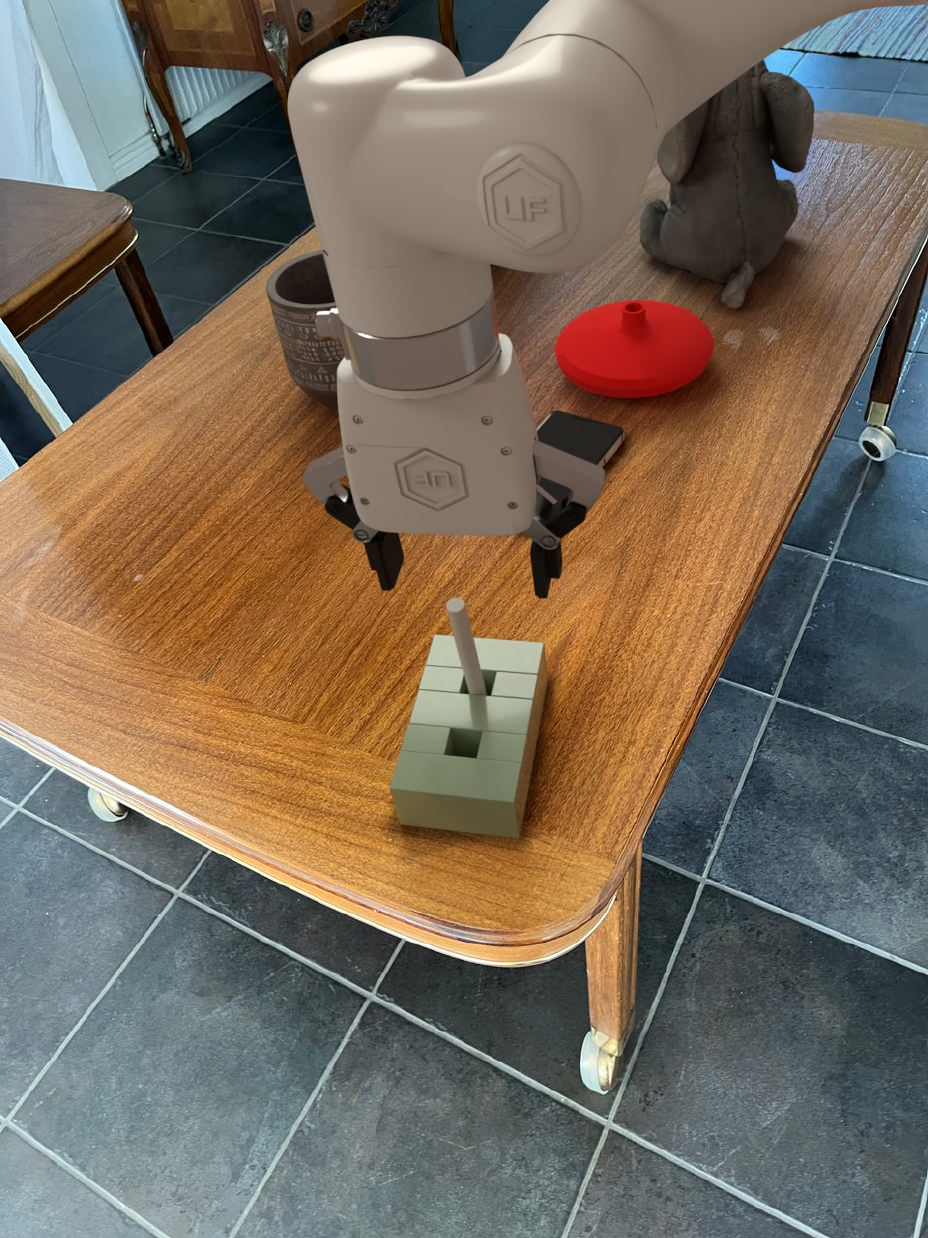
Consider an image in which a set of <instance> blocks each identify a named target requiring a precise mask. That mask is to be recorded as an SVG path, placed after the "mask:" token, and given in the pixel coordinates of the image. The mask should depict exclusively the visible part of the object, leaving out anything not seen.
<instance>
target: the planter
mask: <svg viewBox="0 0 928 1238" xmlns="http://www.w3.org/2000/svg"><path fill="white" fill-rule="evenodd" d="M265 292H266V295H267V299H268V302H269V305H270V310H271V313H272V317H273V321H274V325H275V328H276V331H277V334H278V338H279V342H280V345H281V349H282V352H283V356H284V360H285V364H286V367H287V371H288V373H289V376H290V379H291V380H292V381H293V382H294V383H295V385H296V386H297V387H298V388H299V389H301V390H302V391H303V392H304V393H305V394H306V395H308V397H310V398H311V399H313V401H315V402H316V403H318V404H319V405H320V406H321V407H323V408H325V409H328V410H331V411H337V412H339V410H338V397H337V369H338V366H339V364H340V363H341V361H342V360H343V359H344V357H345V354H344V351H343V347H342V344H341V343H340V342H339V341H334V340H333V339H332V338H320V337H319V336H318V334H317V331H316V315H317V312H318V311H327V310H331V309H332V308H337V306H336V303H335V299H334V295H333V291H332V287H331V283H330V280H329V276H328V272H327V268H326V264H325V261H324V257H323V253H322V249H317V250H313V251H310V252H306V253H304V254H301V255H298V256H295V257H294V258H291V259H289V260H288V261H286V262H284V263H283V264H281V265H280V266H279V267H277V268H276V269H275V270H274V271H273V272H272V273H271V274H270V276H269V278H268V279H267V281H266V284H265Z"/></svg>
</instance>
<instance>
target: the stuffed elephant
mask: <svg viewBox="0 0 928 1238" xmlns="http://www.w3.org/2000/svg"><path fill="white" fill-rule="evenodd" d="M814 119H815V101H814V99H813V98H812V95H811V94H810V92H809V90H808V89H807V87H805V86H804V85H803V84H802V83H800V82H799V81H798V80H796V78H794V77H792V76H790V75H787V74H784V73H783V72H778V71H770V70H769V68H768V66H767V64H766V61H765V59H763V60H762V61H760V62H759V63H757V64H756V65H755V66H753V67H752V68H750V69H749V70H748V71H746V72H745V73H743V74H742V75H741V76H739V77H738V78H737V79H735V80H734V81H732V82H731V83H730V84H728V85H727V86H725V87H724V88H723V89H721V90H720V91H719V92H717V93H716V94H715V95H713V96H712V97H711V98H709V99H708V100H707V101H705V102H704V103H703V104H702V105H700V106H699V107H698V108H696V109H695V110H694V111H692V112H691V113H689V114H688V115H687V116H686V117H684V118H683V119H682V120H681V121H679V122H678V123H677V124H676V125H675V126H674V127H672V128H671V129H670V130H669V131H668V132H667V133H666V134H665V136H664V138H663V141H662V143H661V145H660V147H659V150H658V152H657V155H656V160H657V164H658V167H659V169H660V172H661V174H662V175H663V177H664V178H665V180H666V181H667V182H668V183H669V186H670V187H669V192H668V198H669V203H670V207H668V205H667V204H666V203H665V202H666V201H665V200H662V199H661V198H657V197H654V200H650V201H649V202H648V204H646V205H645V207H644V208H643V209H642V212H641V214H640V218H639V242H640V245H641V248H642V249H644V251H645V252H646V253H647V254H648V256H649V255H650V257H651V258H653V259H656V260H657V261H659V262H662V263H664V264H666V265H669V266H671V267H672V268H676V269H680V270H684V271H689V272H691V273H692V274H693V275H696V276H697V277H699V278H703V279H707V280H711V281H712V282H714V283H717V284H726V285H725V287H724V288H723V290H722V292H721V300H720V301H721V304H724V305H726V306H727V307H728V308H730V309H732V310H737V309H739V308H740V307H741V306H742V305H743V303H744V301H745V299H746V298H745V297H746V294H747V292H748V290H749V288H750V287H751V285H752V284H753V282H754V280H755V276H756V275H757V274H759V273H760V272H762V271H763V270H764V269H765V268H766V267H768V265H769V264H770V263H771V262H772V260H774V258H775V257H776V255H777V254H778V252H779V250H780V248H781V247H782V246H783V243H784V240H785V238H786V235H787V234H788V232H789V230H790V229H791V227H792V226H793V225H794V222H795V221H796V219H797V216H798V214H799V206H800V203H799V199H798V193H797V188H796V186H795V183H794V182H793V181H792V180H790V179H785V178H784V179H779V178H777V172H776V169H775V166H774V164H775V165H776V166H777V167H779V168H780V169H782V170H785V171H787V172H790V173H793V174H798V173H801V172H803V171H804V170H805V168H806V166H807V160H808V156H809V155H810V153H809V152H810V149H811V146H812V141H813V133H814V128H815V123H814V122H815V121H814Z"/></svg>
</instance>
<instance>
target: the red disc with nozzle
mask: <svg viewBox="0 0 928 1238" xmlns="http://www.w3.org/2000/svg"><path fill="white" fill-rule="evenodd" d="M714 348H715V339H714V337H713V334H712V332H711V330H710V328H709V327H708V326H707V325H706V324H705V323H704V322H703V321H702V319H700V318H699V316H698V315H696V314H695V313H693V312H691V311H690V310H688V309H686V308H684V307H681V306H678V305H675V304H671V303H669V302H662V301H657V300H651V299H649V300H647V299H643V300H641V299H630V300H623V301H615V302H611V303H606V304H603V305H599V306H595V307H593V308H591V309H589V310H587V311H584V312H582V313H581V314H579V315H578V316H577V317H575V318H574V319H573V320H571V321H570V322H569V323H568V324H567V325H566V326H565V328H564V329H563V330H562V331H561V332H560V334H559V335H558V336H557V338H556V341H555V345H554V348H553V349H554V356H555V360H556V362H557V365H558V367H559V369H560V371H561V372H562V373H563V375H564V376H565V378H566V379H567V380H569V381H570V382H571V383H572V384H574V385H575V386H577V387H578V388H581V389H582V390H585V391H588V392H590V393H593V394H596V395H600V396H605V397H610V398H619V399H620V398H623V399H640V398H646V397H647V398H648V397H655V396H659V395H663V394H666V393H671V392H674V391H676V390H678V389H680V388H682V387H684V386H686V385H688V384H690V383H692V381H694V380H695V379H696V378H697V377H699V376H700V375H701V374H702V373H703V372H704V370H705V368H706V367H707V365H708V364H709V362H710V360H711V358H712V356H713V354H714Z"/></svg>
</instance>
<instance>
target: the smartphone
mask: <svg viewBox="0 0 928 1238" xmlns="http://www.w3.org/2000/svg"><path fill="white" fill-rule="evenodd" d="M536 430H537V435H538V441H540V442H542V443H544V444H547V445H549V446H552V447H554V448H556V449H559V450H561V451H564V452H566V453H568V454H571V455H573V456H576V457H578V458H580V459H583V460H585V461H588V462H590V463H592V464H595V465H597V466H599V467H601V468H604V466H605V465H606V464H607V463H608V462H609V460H610V459H611V458H612V457H613V455H614V454H615V452H617V450H618V448H619V447H620V446H621V444H622V443H623V442H624V441H625V430H624V428H623V427H622V426H619V425H616V424H612V423H608V422H604V421H600V420H597V419H592V418H590V417H586V416H582V415H578V414H574V413H571V412H567V411H563V410H559V409H558V410H553V411H550V413H549V414H548V415H547V416H546V417H545V419H543V421H542V422H541V423H539V425H538V427H536ZM538 485H539V486H540V487H542V488H543V489H544V490H545V491H546V492H547V493H549V494H550V495H551V496H552V497H553V498H554V499H555V500H557V501H559V500H560V499H561V498H562V497H564V496H565V495H566V494H567V493H569V492H570V491H572V490H571V489H569V488H568V487H565V486H563V485H560V484H558V483H556V482H553V481H551V480H548V479H546V478H544V477H541V481H540V483H539V484H538ZM535 513H536V512H535ZM536 514H538V513H536ZM538 515H539V514H538ZM539 516H540V515H539Z"/></svg>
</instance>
